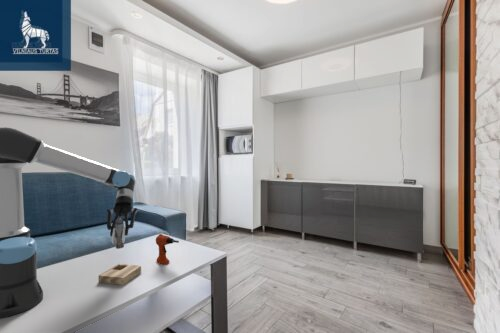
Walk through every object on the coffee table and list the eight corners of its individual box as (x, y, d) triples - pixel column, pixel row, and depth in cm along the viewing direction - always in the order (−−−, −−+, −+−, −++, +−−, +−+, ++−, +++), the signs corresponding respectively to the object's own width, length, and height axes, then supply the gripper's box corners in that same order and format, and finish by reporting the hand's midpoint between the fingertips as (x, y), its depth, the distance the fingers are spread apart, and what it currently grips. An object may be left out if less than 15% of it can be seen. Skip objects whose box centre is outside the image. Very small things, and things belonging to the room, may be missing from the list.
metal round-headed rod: (113, 248, 108) (113, 218, 108) (119, 245, 111) (118, 217, 111) (120, 248, 107) (119, 219, 107) (125, 246, 111) (125, 217, 110)
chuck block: (98, 282, 102) (98, 275, 102) (118, 269, 114) (118, 263, 114) (123, 284, 100) (122, 277, 100) (141, 272, 112) (141, 265, 112)
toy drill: (176, 268, 112) (173, 236, 113) (154, 263, 123) (152, 234, 124) (184, 265, 116) (182, 234, 117) (162, 260, 127) (160, 232, 128)
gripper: (142, 202, 126) (138, 244, 111) (107, 204, 121) (98, 248, 106) (141, 194, 121) (137, 236, 106) (104, 195, 116) (94, 240, 100)
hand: (117, 242), depth 106 cm, fingers closed on metal round-headed rod, 3 cm apart
